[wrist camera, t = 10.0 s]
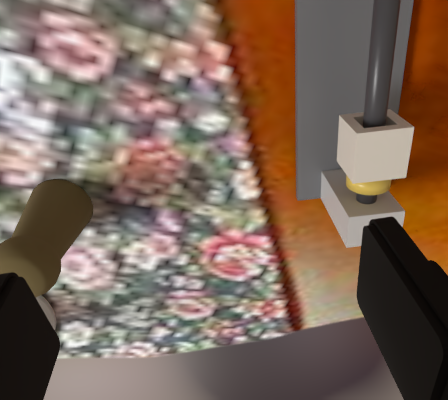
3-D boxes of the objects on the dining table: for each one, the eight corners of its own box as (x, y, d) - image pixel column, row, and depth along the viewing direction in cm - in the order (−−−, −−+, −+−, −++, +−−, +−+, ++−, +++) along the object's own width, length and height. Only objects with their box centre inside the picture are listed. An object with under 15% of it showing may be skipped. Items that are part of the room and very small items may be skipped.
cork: (103, 199, 38) (71, 274, 29) (76, 239, 40) (38, 321, 31) (45, 167, 36) (-10, 237, 27) (20, 212, 38) (-39, 290, 29)
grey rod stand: (294, -99, 27) (330, -127, 19) (423, -115, 26) (512, -149, 19) (296, 196, 39) (318, 250, 31) (384, 186, 39) (428, 238, 31)
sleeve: (339, 115, 30) (356, 133, 27) (390, 109, 30) (414, 126, 27) (336, 161, 32) (352, 183, 29) (384, 155, 32) (406, 177, 29)
